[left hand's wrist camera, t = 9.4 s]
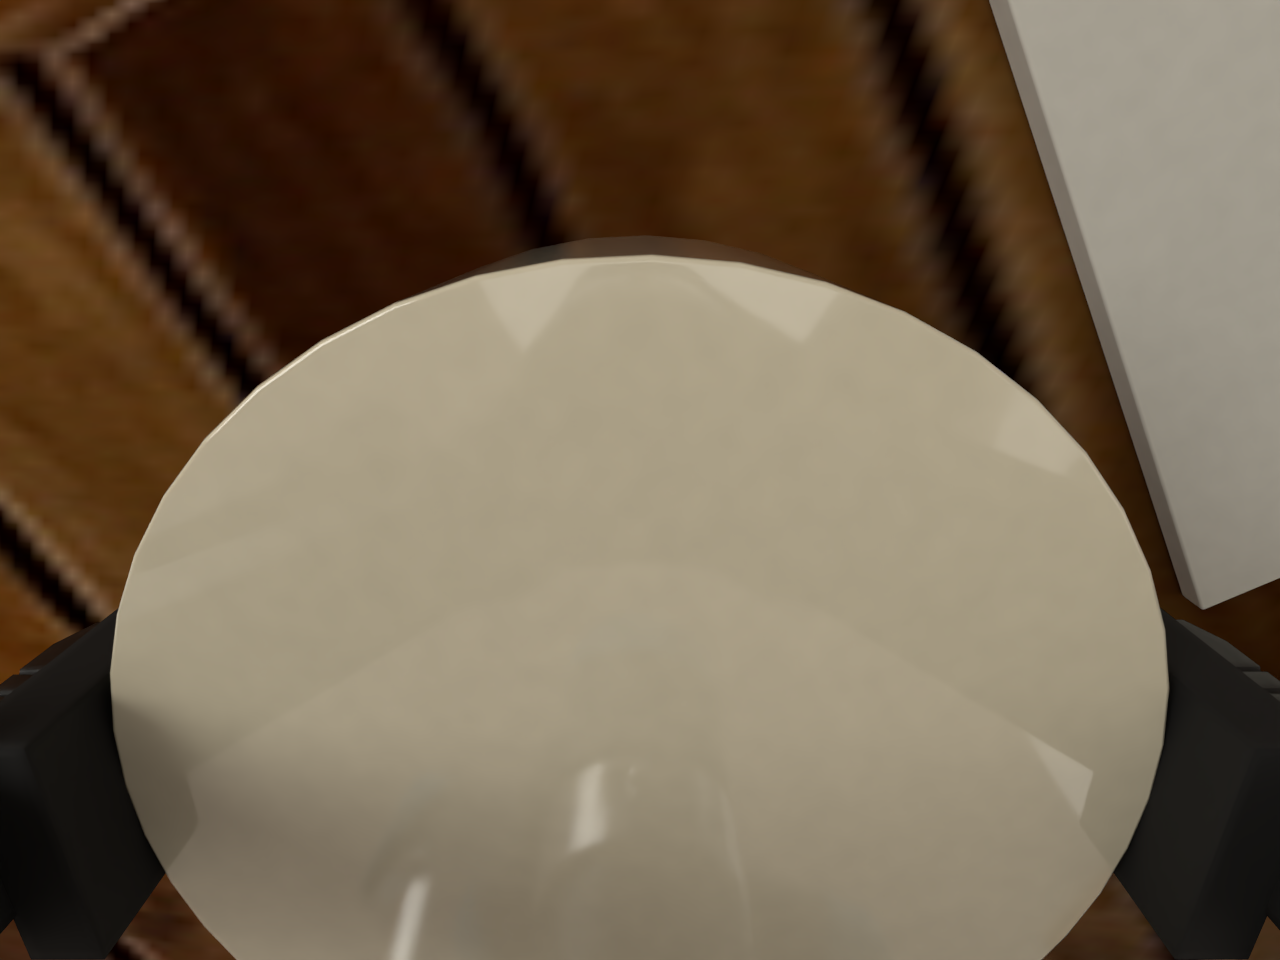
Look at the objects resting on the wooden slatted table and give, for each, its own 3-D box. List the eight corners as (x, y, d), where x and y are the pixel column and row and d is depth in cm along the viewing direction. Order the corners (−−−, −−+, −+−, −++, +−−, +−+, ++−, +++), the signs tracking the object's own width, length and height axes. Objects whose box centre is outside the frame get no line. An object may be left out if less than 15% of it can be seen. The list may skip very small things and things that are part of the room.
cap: (1099, 730, 12) (1276, 934, 9) (526, 959, 14) (491, 1196, 10) (826, 53, 8) (948, -42, 5) (110, 486, 10) (-138, 619, 7)
